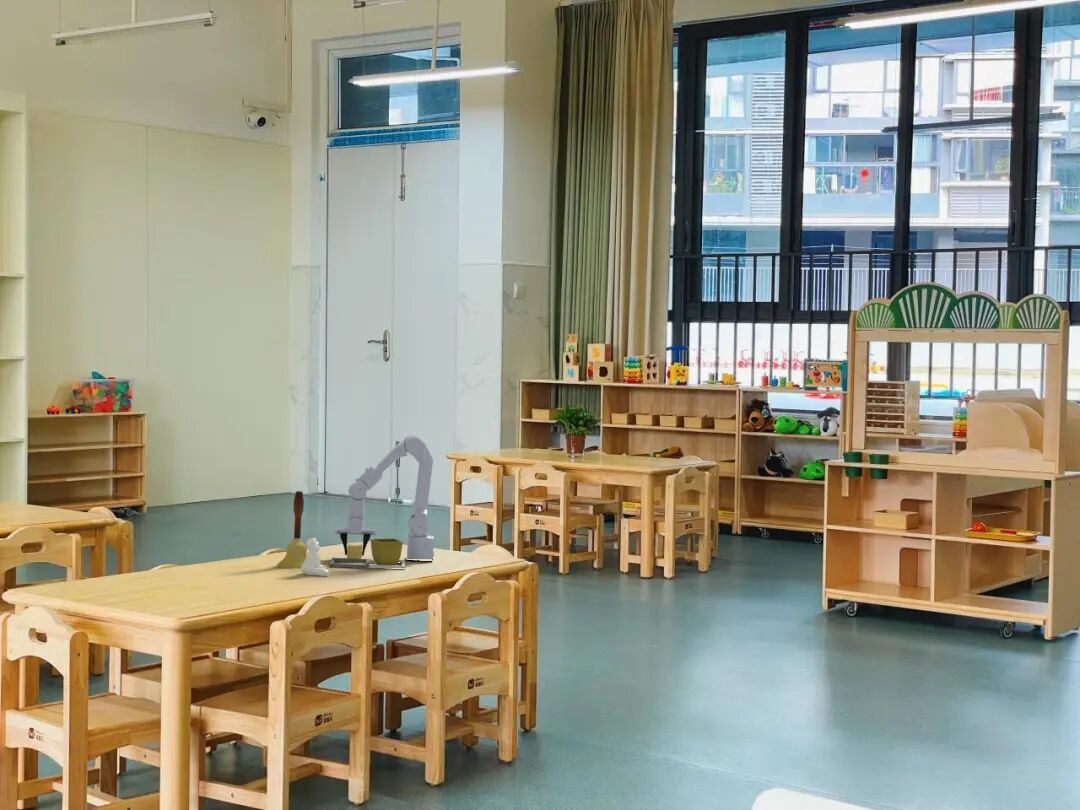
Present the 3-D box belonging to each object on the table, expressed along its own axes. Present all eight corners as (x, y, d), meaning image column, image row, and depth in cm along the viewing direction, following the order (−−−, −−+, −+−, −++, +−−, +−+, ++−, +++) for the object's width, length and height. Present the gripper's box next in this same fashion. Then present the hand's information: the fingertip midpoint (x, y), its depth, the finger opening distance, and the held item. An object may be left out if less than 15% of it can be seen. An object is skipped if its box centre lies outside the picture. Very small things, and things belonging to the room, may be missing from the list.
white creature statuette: (329, 577, 423) (331, 540, 422) (302, 577, 420) (304, 539, 420) (325, 572, 432) (326, 535, 431) (298, 572, 429) (300, 535, 429)
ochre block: (361, 558, 464) (362, 544, 464) (361, 560, 459) (361, 546, 459) (347, 558, 463) (347, 543, 463) (346, 560, 458) (347, 546, 458)
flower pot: (368, 564, 451) (370, 538, 451) (392, 563, 455) (393, 537, 455) (378, 568, 444) (379, 542, 443) (402, 567, 448) (403, 541, 447)
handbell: (287, 561, 450) (290, 488, 449) (320, 564, 446) (323, 491, 445) (270, 566, 438) (274, 491, 437) (304, 569, 434) (308, 494, 434)
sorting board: (404, 563, 457) (404, 560, 457) (404, 569, 444) (405, 566, 444) (331, 561, 454) (332, 557, 454) (330, 567, 441) (330, 563, 441)
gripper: (377, 515, 465) (375, 553, 466) (335, 514, 464) (334, 552, 464) (376, 518, 458) (375, 557, 459) (334, 516, 457) (333, 555, 457)
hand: (354, 555), depth 461 cm, fingers open, 5 cm apart
